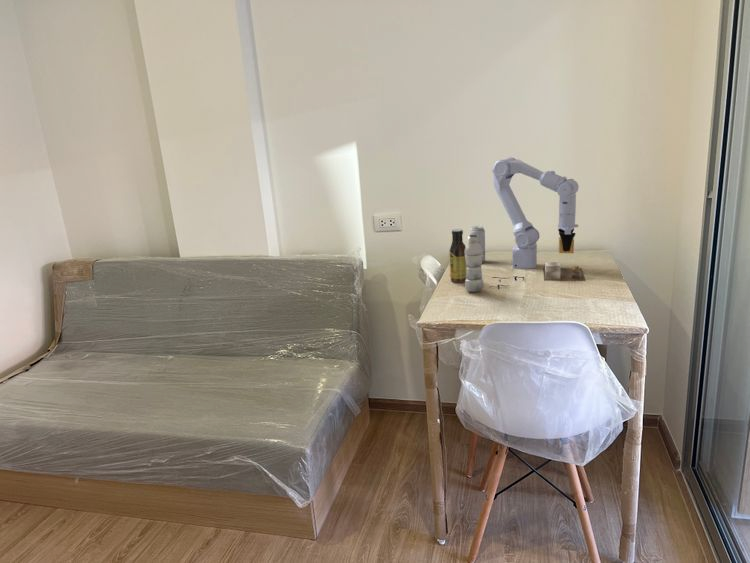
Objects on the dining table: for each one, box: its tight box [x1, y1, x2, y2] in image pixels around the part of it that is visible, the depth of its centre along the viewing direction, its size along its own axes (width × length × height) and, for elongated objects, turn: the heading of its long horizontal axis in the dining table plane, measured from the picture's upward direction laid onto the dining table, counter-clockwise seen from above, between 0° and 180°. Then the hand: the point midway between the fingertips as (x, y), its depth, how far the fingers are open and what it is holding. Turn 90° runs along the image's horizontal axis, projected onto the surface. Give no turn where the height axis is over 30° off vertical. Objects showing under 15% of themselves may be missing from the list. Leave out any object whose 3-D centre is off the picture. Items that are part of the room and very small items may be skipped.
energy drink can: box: [469, 225, 486, 263], centre depth 226 cm, size 6×6×15 cm
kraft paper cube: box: [558, 236, 575, 254], centre depth 201 cm, size 5×5×5 cm
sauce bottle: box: [448, 228, 467, 283], centre depth 202 cm, size 7×6×20 cm
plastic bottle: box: [464, 234, 484, 293], centre depth 189 cm, size 6×7×20 cm
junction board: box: [542, 261, 586, 282], centre depth 199 cm, size 14×16×6 cm
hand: (566, 249), depth 201 cm, fingers closed on kraft paper cube, 5 cm apart
